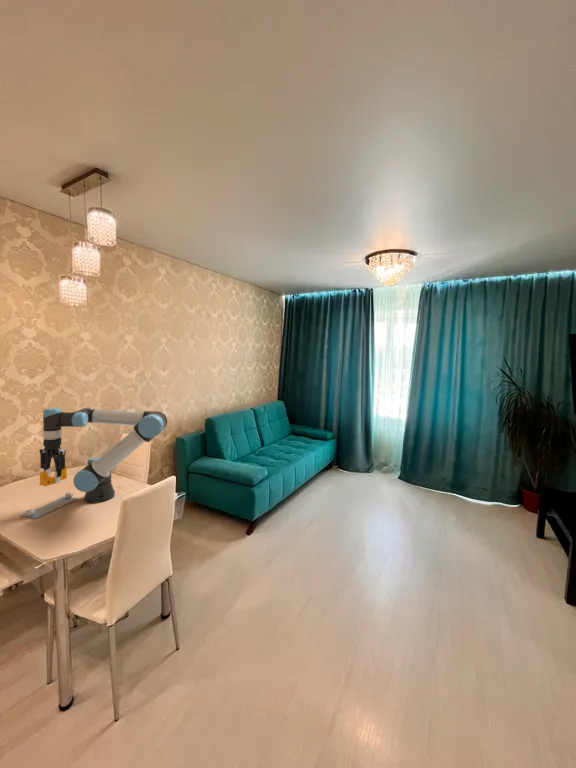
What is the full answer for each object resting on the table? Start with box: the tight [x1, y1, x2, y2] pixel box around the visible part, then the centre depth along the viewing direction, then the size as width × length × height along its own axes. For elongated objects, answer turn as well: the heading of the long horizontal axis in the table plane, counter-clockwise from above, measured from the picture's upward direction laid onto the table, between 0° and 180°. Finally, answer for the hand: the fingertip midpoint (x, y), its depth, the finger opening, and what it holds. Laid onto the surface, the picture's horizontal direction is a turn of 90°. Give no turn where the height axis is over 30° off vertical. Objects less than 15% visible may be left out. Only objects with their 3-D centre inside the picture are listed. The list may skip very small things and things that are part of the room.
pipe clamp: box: [39, 466, 68, 487], centre depth 168 cm, size 12×4×6 cm, turn 161°
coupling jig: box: [19, 491, 79, 520], centre depth 170 cm, size 10×24×4 cm, turn 168°
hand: (53, 482), depth 167 cm, fingers closed on pipe clamp, 5 cm apart
